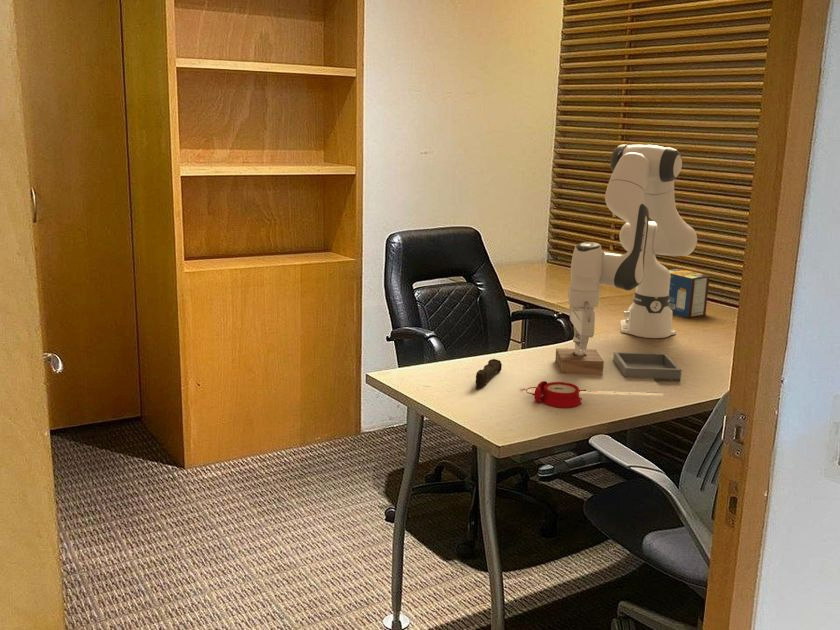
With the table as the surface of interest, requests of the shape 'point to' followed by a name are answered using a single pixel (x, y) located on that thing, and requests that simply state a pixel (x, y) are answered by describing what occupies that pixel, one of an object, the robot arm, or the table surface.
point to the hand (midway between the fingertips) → (580, 344)
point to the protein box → (688, 293)
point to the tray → (647, 366)
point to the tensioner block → (579, 362)
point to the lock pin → (578, 347)
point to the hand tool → (487, 373)
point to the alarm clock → (557, 394)
